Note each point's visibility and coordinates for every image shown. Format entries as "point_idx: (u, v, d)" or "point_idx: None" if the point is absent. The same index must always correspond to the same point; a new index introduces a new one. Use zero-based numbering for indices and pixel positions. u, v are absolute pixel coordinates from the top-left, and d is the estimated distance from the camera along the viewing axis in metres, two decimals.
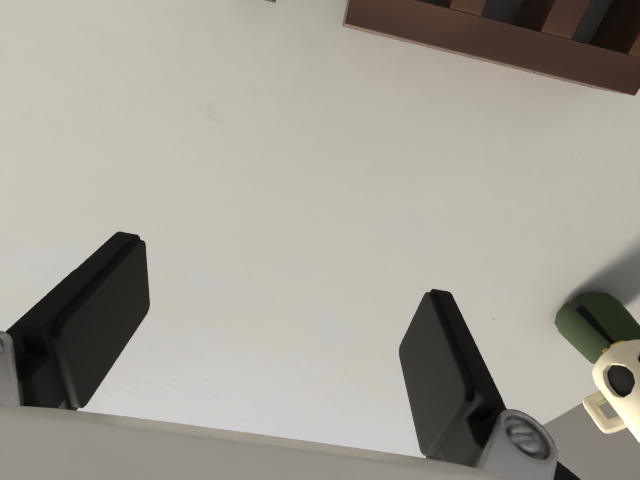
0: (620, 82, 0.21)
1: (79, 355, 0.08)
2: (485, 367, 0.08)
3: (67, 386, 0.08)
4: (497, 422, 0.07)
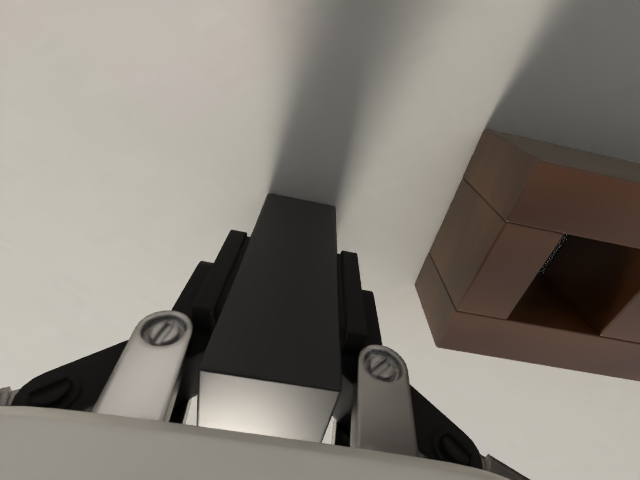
0: None
1: None
2: (362, 310, 0.09)
3: None
4: (359, 353, 0.08)
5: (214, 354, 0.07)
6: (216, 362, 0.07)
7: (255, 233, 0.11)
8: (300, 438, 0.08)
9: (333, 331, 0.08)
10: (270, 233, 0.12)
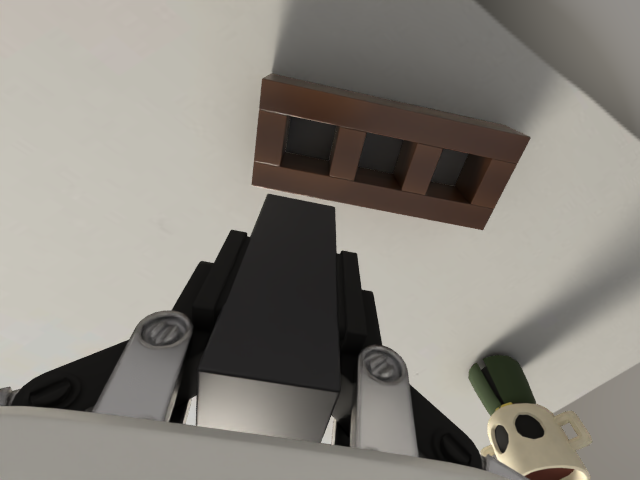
0: (469, 221, 0.28)
1: None
2: (362, 310, 0.09)
3: None
4: (359, 353, 0.08)
5: (213, 355, 0.07)
6: (215, 363, 0.07)
7: (255, 233, 0.11)
8: (299, 438, 0.08)
9: (332, 332, 0.08)
10: (269, 233, 0.12)
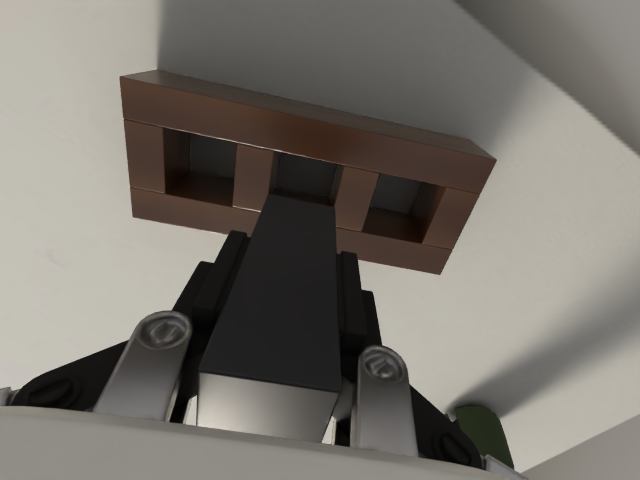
0: (422, 265, 0.21)
1: None
2: (362, 310, 0.09)
3: None
4: (359, 353, 0.08)
5: (214, 355, 0.07)
6: (216, 363, 0.07)
7: (255, 233, 0.11)
8: (299, 439, 0.08)
9: (333, 332, 0.08)
10: (270, 234, 0.12)
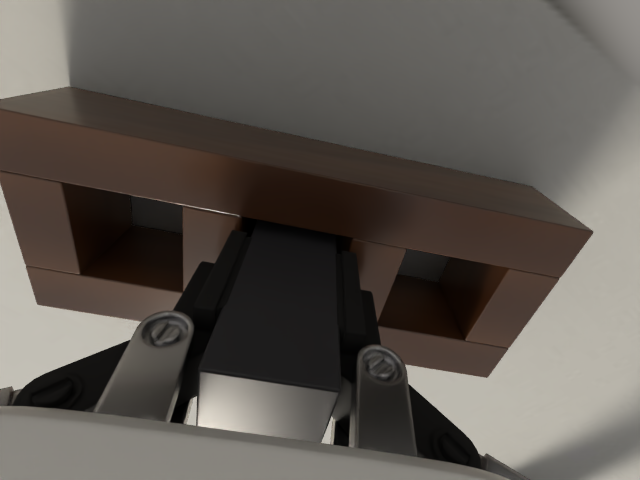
0: (462, 366, 0.15)
1: None
2: (361, 310, 0.09)
3: None
4: (358, 353, 0.08)
5: (214, 355, 0.07)
6: (216, 363, 0.07)
7: (255, 233, 0.11)
8: (299, 438, 0.08)
9: (333, 332, 0.08)
10: (270, 234, 0.12)
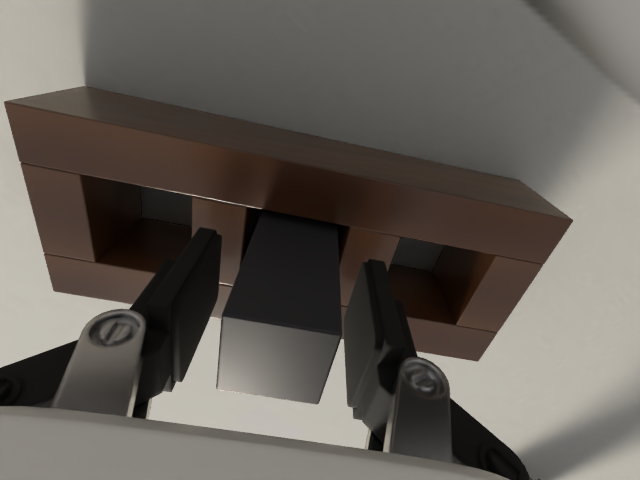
0: (454, 349, 0.16)
1: (184, 334, 0.09)
2: (398, 321, 0.09)
3: (174, 361, 0.09)
4: (398, 366, 0.08)
5: (234, 304, 0.08)
6: (237, 310, 0.08)
7: (264, 212, 0.13)
8: (306, 381, 0.09)
9: (335, 291, 0.10)
10: (277, 213, 0.13)
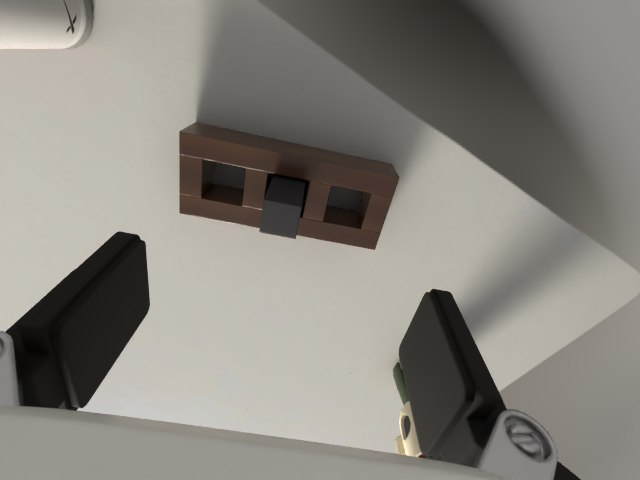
0: (362, 243, 0.33)
1: (79, 355, 0.08)
2: (485, 367, 0.08)
3: (67, 386, 0.08)
4: (497, 422, 0.07)
5: (267, 197, 0.26)
6: (268, 199, 0.26)
7: (274, 175, 0.31)
8: (290, 227, 0.27)
9: (301, 198, 0.27)
10: (280, 176, 0.31)
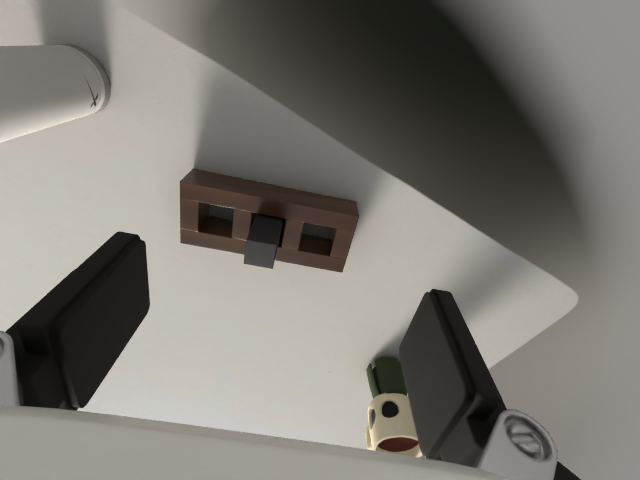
0: (331, 267, 0.40)
1: (79, 355, 0.08)
2: (485, 367, 0.08)
3: (67, 386, 0.08)
4: (497, 422, 0.07)
5: (249, 237, 0.33)
6: (249, 238, 0.33)
7: (257, 214, 0.37)
8: (268, 260, 0.34)
9: (276, 236, 0.34)
10: (262, 214, 0.38)
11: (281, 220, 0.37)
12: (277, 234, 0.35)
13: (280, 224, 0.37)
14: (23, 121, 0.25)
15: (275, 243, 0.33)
